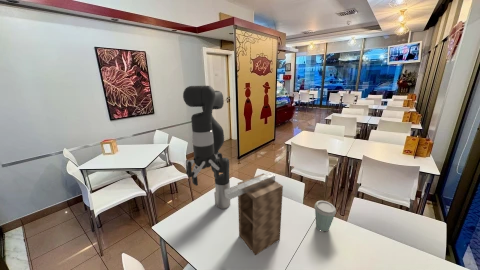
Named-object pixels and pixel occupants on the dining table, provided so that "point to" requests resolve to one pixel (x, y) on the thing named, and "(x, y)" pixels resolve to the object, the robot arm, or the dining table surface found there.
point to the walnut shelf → (260, 215)
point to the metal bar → (249, 186)
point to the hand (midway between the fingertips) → (206, 181)
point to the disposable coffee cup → (324, 215)
